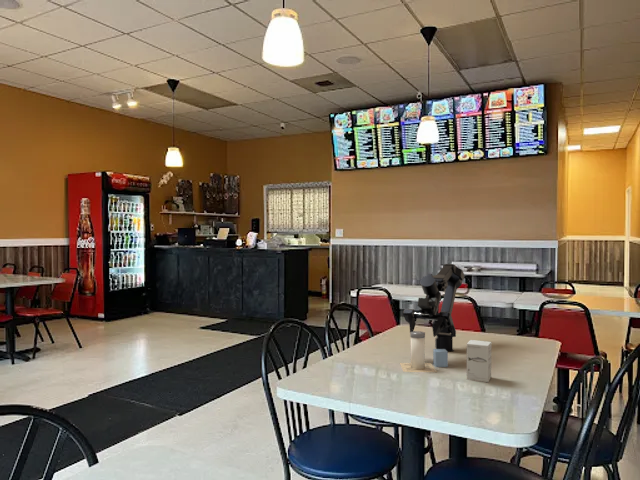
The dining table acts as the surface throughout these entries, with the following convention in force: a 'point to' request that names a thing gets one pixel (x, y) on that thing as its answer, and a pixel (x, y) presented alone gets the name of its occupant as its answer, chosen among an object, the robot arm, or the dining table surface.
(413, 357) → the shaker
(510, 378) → the dining table surface
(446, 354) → the blue block
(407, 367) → the letter card
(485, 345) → the supplement box
